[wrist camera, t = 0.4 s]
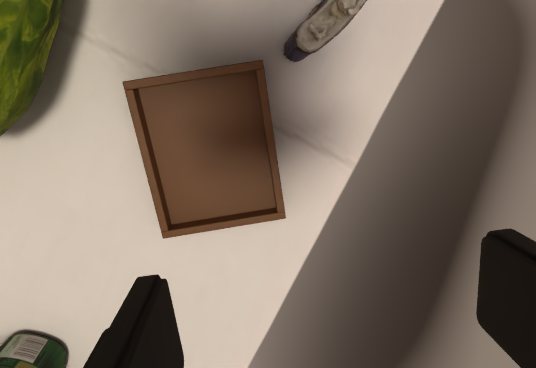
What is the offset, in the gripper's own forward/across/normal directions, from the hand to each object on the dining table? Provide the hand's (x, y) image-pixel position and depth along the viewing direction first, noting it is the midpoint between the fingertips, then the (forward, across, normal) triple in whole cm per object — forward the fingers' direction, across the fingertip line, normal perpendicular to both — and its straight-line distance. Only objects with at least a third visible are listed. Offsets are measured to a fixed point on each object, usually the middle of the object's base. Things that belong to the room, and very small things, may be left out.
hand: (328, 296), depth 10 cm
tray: (+29, +6, 0) cm, 30 cm away
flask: (+29, -6, -11) cm, 32 cm away
